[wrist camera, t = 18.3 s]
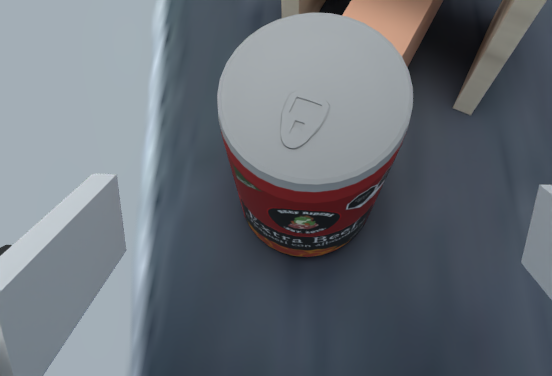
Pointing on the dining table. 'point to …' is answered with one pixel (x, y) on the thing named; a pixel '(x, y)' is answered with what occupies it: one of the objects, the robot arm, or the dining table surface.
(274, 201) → the canned food
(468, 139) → the dining table surface
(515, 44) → the beige arch block
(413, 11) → the orange rectangular block
